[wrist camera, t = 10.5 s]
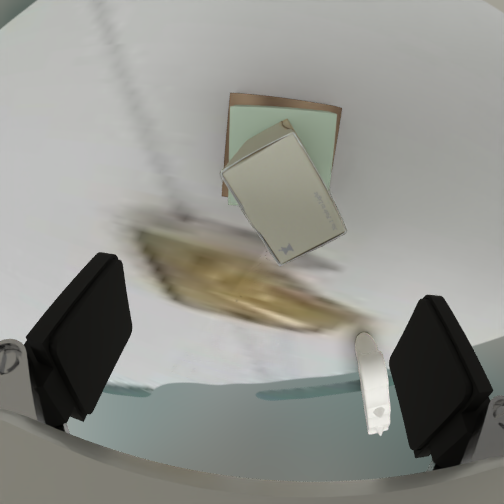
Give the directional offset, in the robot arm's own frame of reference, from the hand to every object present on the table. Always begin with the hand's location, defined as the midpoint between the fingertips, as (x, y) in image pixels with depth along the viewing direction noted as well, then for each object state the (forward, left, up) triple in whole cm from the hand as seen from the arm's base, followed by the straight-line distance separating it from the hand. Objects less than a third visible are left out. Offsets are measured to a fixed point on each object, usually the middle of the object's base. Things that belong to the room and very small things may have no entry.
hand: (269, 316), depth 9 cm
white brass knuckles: (-20, +31, -28) cm, 46 cm away
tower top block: (0, 0, -24) cm, 24 cm away
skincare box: (0, -1, -20) cm, 20 cm away
